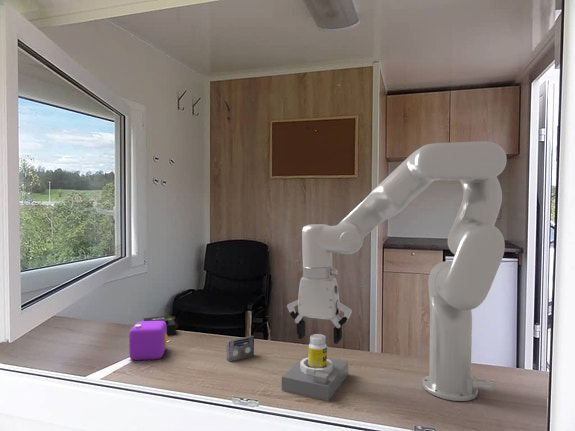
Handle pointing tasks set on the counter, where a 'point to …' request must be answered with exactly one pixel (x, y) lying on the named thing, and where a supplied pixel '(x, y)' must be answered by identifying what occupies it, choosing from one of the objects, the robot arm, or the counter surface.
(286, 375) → the grey ring holder base
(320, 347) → the supplement bottle
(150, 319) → the battery charger
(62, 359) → the counter surface
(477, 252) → the robot arm
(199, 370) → the counter surface
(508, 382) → the counter surface
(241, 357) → the mini dv tape
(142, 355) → the toy camera
